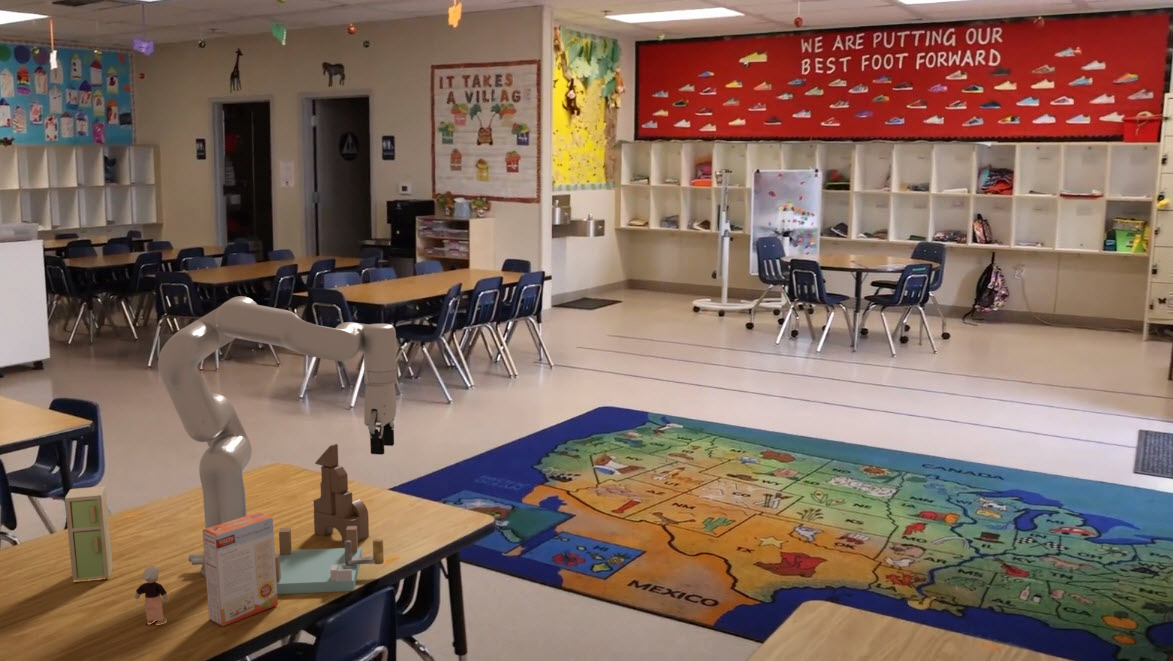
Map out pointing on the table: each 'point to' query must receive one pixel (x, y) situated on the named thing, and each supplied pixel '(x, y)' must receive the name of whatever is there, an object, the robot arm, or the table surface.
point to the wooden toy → (337, 500)
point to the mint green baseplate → (315, 567)
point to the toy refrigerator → (89, 533)
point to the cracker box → (240, 568)
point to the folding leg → (376, 558)
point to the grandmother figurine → (152, 595)
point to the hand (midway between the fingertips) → (382, 448)
